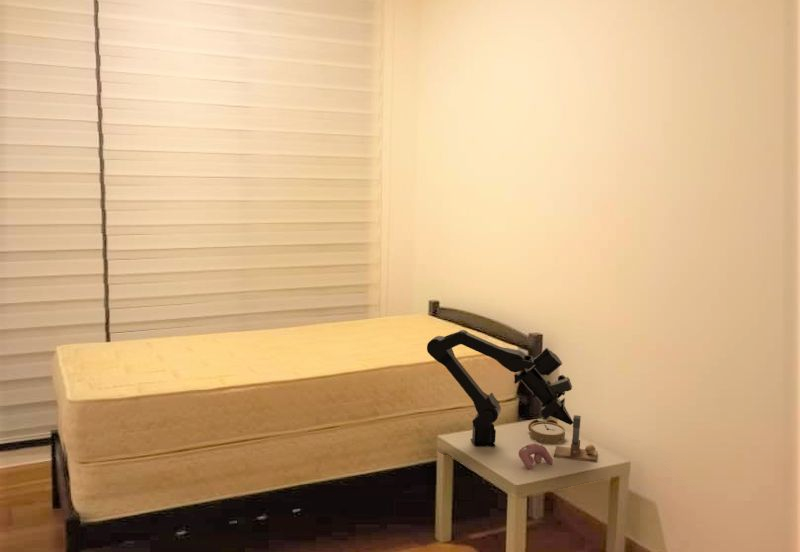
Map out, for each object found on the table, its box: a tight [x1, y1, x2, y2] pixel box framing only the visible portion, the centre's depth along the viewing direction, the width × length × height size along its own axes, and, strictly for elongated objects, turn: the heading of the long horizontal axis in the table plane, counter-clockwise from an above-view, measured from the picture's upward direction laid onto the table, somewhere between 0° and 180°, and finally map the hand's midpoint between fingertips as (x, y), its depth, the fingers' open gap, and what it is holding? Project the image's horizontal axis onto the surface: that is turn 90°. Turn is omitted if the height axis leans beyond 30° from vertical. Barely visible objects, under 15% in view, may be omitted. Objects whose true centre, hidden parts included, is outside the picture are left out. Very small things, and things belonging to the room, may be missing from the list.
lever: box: [571, 414, 582, 445], centre depth 228 cm, size 2×3×10 cm, turn 163°
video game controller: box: [518, 443, 554, 470], centre depth 220 cm, size 10×5×7 cm, turn 123°
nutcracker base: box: [553, 438, 598, 463], centre depth 229 cm, size 12×8×4 cm, turn 73°
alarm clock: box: [528, 419, 566, 444], centre depth 246 cm, size 11×5×15 cm
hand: (572, 423), depth 228 cm, fingers closed
